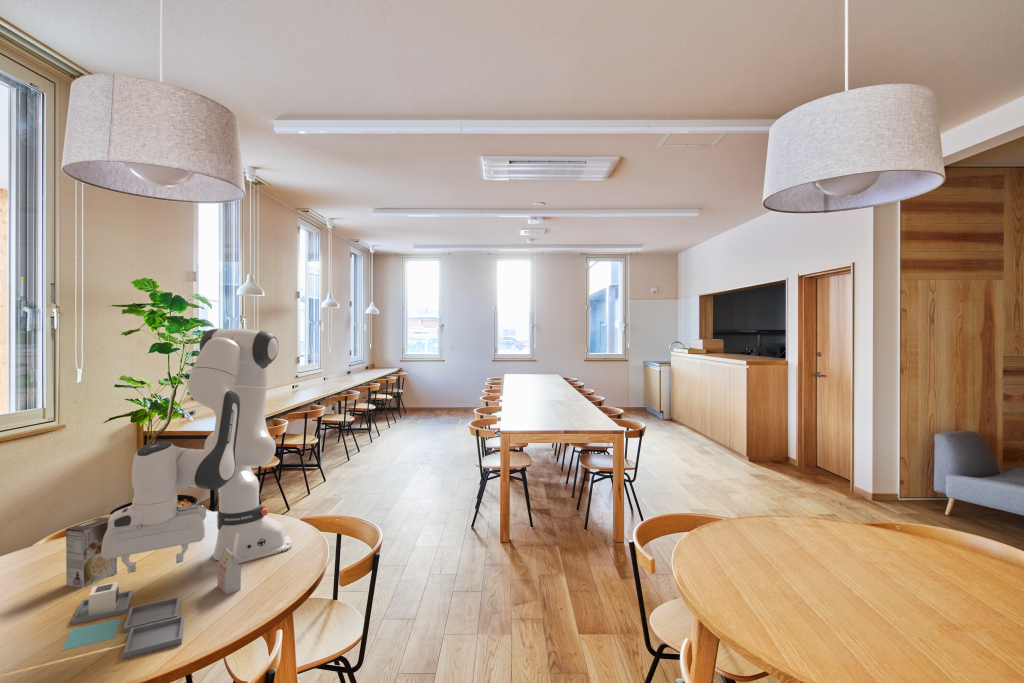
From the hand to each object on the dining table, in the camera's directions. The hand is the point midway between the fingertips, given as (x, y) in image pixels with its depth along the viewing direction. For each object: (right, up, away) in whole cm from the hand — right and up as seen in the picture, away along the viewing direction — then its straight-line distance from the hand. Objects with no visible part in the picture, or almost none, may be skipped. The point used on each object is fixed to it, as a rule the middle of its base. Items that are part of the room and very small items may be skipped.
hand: (156, 566), depth 117 cm
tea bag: (+9, -13, +14) cm, 21 cm away
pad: (-9, -12, -7) cm, 17 cm away
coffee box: (-31, -12, +18) cm, 38 cm away
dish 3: (+6, -12, -9) cm, 16 cm away
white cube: (-15, -12, +3) cm, 19 cm away
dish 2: (-1, -12, 0) cm, 12 cm away
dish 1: (-15, -12, +3) cm, 20 cm away
